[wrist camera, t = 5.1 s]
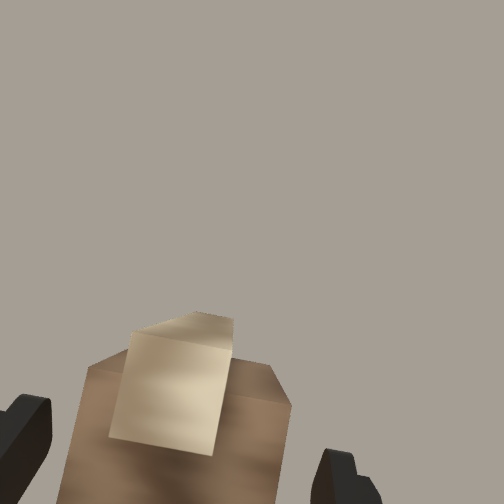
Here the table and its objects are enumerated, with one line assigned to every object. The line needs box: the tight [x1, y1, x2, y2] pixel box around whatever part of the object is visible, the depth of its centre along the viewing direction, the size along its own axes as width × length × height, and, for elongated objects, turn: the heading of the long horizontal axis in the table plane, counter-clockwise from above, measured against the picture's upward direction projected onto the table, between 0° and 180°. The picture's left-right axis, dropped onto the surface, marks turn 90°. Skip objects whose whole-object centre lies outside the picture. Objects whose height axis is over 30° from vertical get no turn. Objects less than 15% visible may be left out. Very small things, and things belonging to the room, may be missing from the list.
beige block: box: [108, 312, 233, 456], centre depth 21 cm, size 3×20×3 cm, turn 2°
